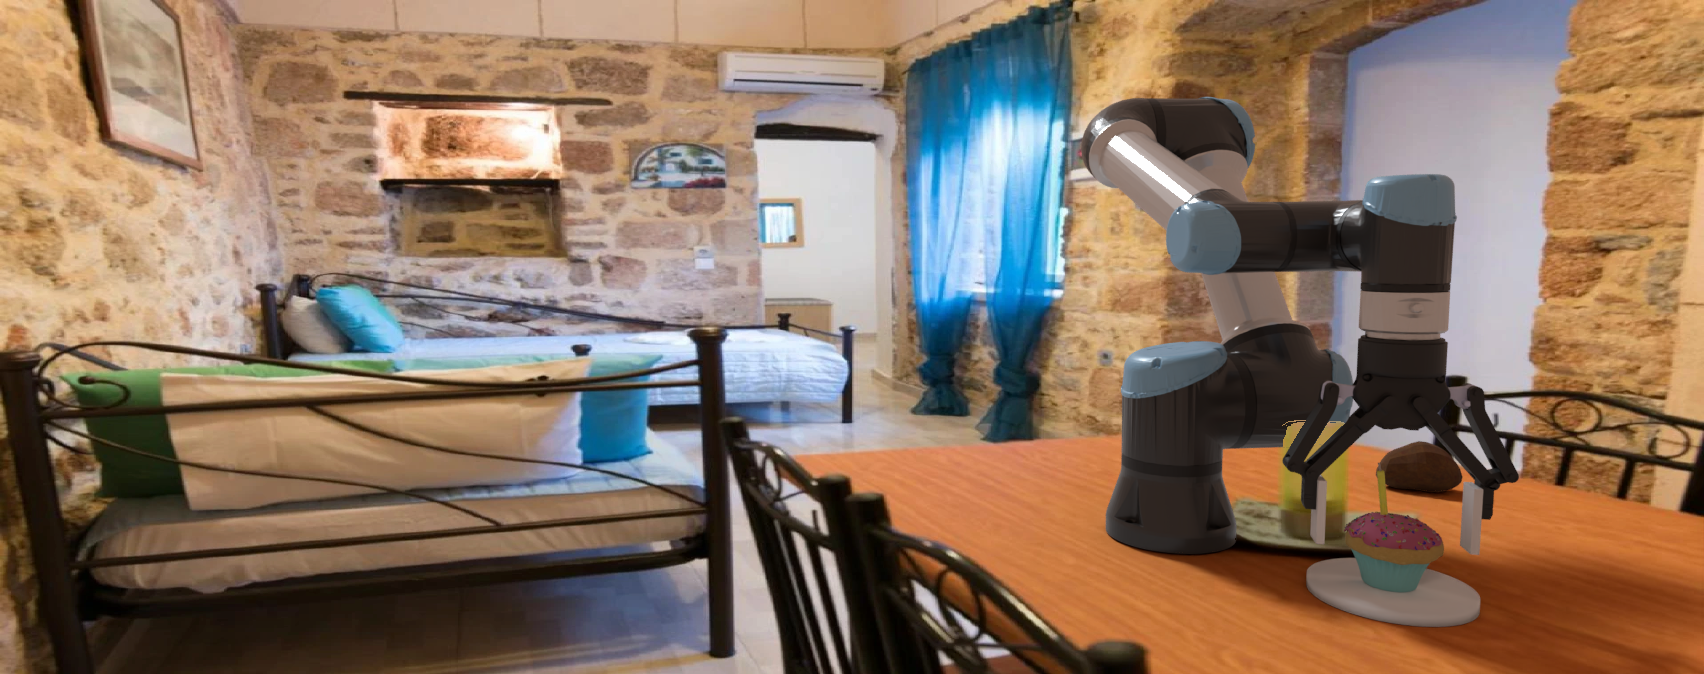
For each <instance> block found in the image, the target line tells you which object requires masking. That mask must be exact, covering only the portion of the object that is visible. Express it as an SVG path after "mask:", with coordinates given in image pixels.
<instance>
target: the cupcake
mask: <svg viewBox="0 0 1704 674" xmlns="http://www.w3.org/2000/svg"><path fill="white" fill-rule="evenodd" d="M1377 467H1379V471H1377V477H1376V478H1377V487H1378V488H1377V489H1378V501H1379V510H1380V511H1375V512H1373V511H1371V512H1368V513H1365V514H1362V515H1359V516H1357V517H1356V518H1353V519H1352V520H1351V521H1350V522H1348V523H1346V525H1345V526H1344V529H1343V532H1345V535H1344V539H1345V540H1344V541H1345V545H1346V546H1347V547H1349V548H1350V550H1351V551H1352V553H1353V556H1354V558H1356V561H1357V563H1358V566H1359V570H1360V573H1361V578H1362V580H1363V581H1364V582H1365V583H1366V584H1368V585H1370V586H1372V587H1375V588H1378V589H1381V590H1386V591H1391V592H1410V591H1413V590H1415V589H1416V588H1417V586H1418V583H1419V581H1420V579H1421V577H1422V575H1423V573H1424V571H1425V569H1426V568H1427V569H1428V566H1429V565H1430V564H1431V563H1433V562H1434V561H1437V560H1439V558H1440V557H1443V555H1444V554H1445V545H1444V541H1443V538H1442V537H1441V535H1440V534H1439V533H1437V532H1436V530H1434V529H1433V528H1432V527H1430V526H1429V525H1428V524H1427V523H1425V522H1423V521H1421V520H1420V519H1418V518H1417V517H1416V518H1415V517H1411V516H1409V515H1408V514H1407V515H1404V514H1403V515H1402V514H1400V513H1392V512H1391V513H1390V512H1389V511H1388V499H1387V487H1386V486H1387V485H1386V484H1385V473H1384V471H1382V470H1381V465H1380V462H1377Z"/></svg>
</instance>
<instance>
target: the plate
mask: <svg viewBox="0 0 1704 674" xmlns="http://www.w3.org/2000/svg"><path fill="white" fill-rule="evenodd" d="M1305 580H1306V581H1305V582H1306V588H1307V589H1308V591H1309V592H1310V593H1311V594H1312V595H1313V597H1315V598H1316V599H1318V600H1320V601H1322V602H1323V603H1325V604H1327V605H1329V606H1330V607H1331V606H1332V607H1333V608H1336V609H1339V610H1341V611H1344V612H1346V613H1349V614H1352V615H1355V616H1359V617H1362V618H1365V619H1370V620H1373V621H1379V622H1382V623H1383V622H1385V623H1389V624H1396V625H1402V626H1412V627H1422V628H1429V627H1430V628H1432V627H1433V628H1444V627H1445V628H1446V627H1453V626H1454V627H1455V626H1461V625H1464V624H1467V623H1468V624H1469V623H1471V622H1474V620H1476V619H1477V618H1478V617H1479V615H1480V614H1481V612H1480V610H1481V597H1480V594H1479V593H1478V592H1477V590H1476V589H1474V588H1473V587H1472V586H1470V585H1469V584H1468V583H1465V582H1463V581H1462V580H1459V579H1458V578H1455V577H1452V576H1451V575H1448V574H1446V573H1443V572H1439V571H1436V570H1433V569H1430V568H1428V567H1427V568H1426V569H1425V571H1424V573H1423V575H1422V577H1421V579H1420V581H1419V583H1418V586H1417V588H1416V589H1415V590H1413V591H1410V592H1391V591H1386V590H1381V589H1378V588H1375V587H1372V586H1370V585H1368V584H1366V583H1365V582H1364V581H1363V580H1362V578H1361V573H1360V570H1359V566H1358V563H1357V561H1356V558H1355V557H1339V558H1330V559H1325V560H1321V561H1318V562H1315V563H1313V564H1311V565H1310V566H1309V567H1308V568H1307V569H1306V579H1305Z"/></svg>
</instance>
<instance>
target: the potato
mask: <svg viewBox="0 0 1704 674" xmlns="http://www.w3.org/2000/svg"><path fill="white" fill-rule="evenodd" d="M1379 463H1380V465H1381V470H1382V471H1384V473H1385V485H1386V486H1388V487H1392V488H1393V489H1400V490H1415V491H1422V492H1430V493H1439V492H1447V491H1450V490H1452V489H1454V488H1457V487H1458V486H1459V485H1460V484H1461V483H1462V481H1463V479H1464V478H1463V477H1464V476H1463V474H1462V471H1461V468H1460V467H1459V464H1458V462H1456V461H1455V460H1454V457H1453V456H1452V455H1451V454H1449V453H1448V452H1447V451H1446V450H1444V449H1443V448H1442V447H1440V446H1438V445H1436V444H1434V443H1430V442H1427V441H1421V440H1418V441H1414V442H1411V443H1408V444H1406V445H1403V446H1401V447H1397V448H1394V449H1392V450H1390V451H1388V452H1387V453H1386V454H1385V455H1384V456H1383V458H1382V459H1381V460H1380V462H1379ZM1377 471H1379V467H1378V466H1377V468H1376V470H1375V476H1376V478H1377Z"/></svg>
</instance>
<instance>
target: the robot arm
mask: <svg viewBox="0 0 1704 674" xmlns="http://www.w3.org/2000/svg"><path fill="white" fill-rule="evenodd" d="M1255 137H1256V132H1255V127H1254V124H1253V122H1252V119H1251V116H1250V115H1249V113H1248V111H1246V109H1245V108H1244V106H1242V105H1241V104H1240V103H1238V102H1237V101H1234V100H1232V99H1227V98H1217V97H1212V96H1202V97H1199V98H1168V97H1167V98H1166V97H1165V98H1162V97H1161V98H1156V97H1155V98H1154V97H1152V98H1146V97H1134V98H1127V99H1122V100H1120V101H1116V102H1114V103H1112V104H1110V105H1108V106H1106V107H1105V108H1104V109H1102V110H1100V111H1099V112H1098V113H1097V114H1096V115H1095V116H1094V117H1093V118H1092V119H1091V120H1090V122H1089V123H1088V124H1087V126H1086V128H1085V130H1084V133H1083V135H1082V139H1081V144H1080V145H1081V146H1080V152H1081V158H1082V161H1083V164H1084V166H1085V168H1086V170H1087V171H1088V172H1089V174H1090V175H1091V176H1092V177H1093V178H1095V179H1096V180H1097V181H1098V182H1099V183H1101V184H1102V185H1103V186H1106V187H1107V188H1112V189H1118V190H1120V191H1121V192H1122V193H1123V194H1124V195H1125V196H1127V198H1128V199H1130V201H1132V202H1133V203H1135V204H1136V205H1137V206H1138V207H1139V208H1140V209H1141V210H1143V212H1145V213H1146V214H1147V215H1148V216H1149V217H1150V218H1151V219H1152V220H1154V221H1155V222H1156V223H1157V224H1158V225H1159V226H1161V228H1163V229H1164V230H1165V231H1166V232H1165V233H1166V234H1165V235H1166V236H1165V242H1166V243H1165V245H1166V251H1167V253H1168V255H1170V262H1171V263H1172V265H1173V266H1174V267H1175V268H1176V269H1177V270H1179V271H1181V272H1183V273H1189V274H1201V277H1202V281H1203V283H1204V287H1205V290H1206V293H1207V296H1208V299H1209V302H1210V305H1211V309H1212V313H1213V315H1214V318H1215V322H1216V325H1217V328H1218V330H1219V334H1220V337H1221V342H1215V341H1206V340H1197V341H1188V342H1187V341H1186V342H1185V341H1178V342H1170V343H1162V344H1157V345H1151V346H1147V347H1144V348H1140V349H1138V350H1136V351H1133V352H1132V353H1131V354H1129V355H1128V357H1127V358H1126V359H1125V361H1124V365H1123V376H1122V385H1121V387H1120V394H1121V451H1120V452H1121V455H1120V456H1121V457H1120V458H1121V461H1120V464H1121V465H1120V472H1119V474H1118V477H1117V480H1116V483H1115V486H1114V488H1113V490H1112V494H1111V498H1110V500H1109V502H1108V505H1107V508H1106V510H1105V532H1106V533H1107V534H1108V535H1109V536H1110V537H1112V538H1113V539H1115V540H1116V541H1118V542H1121V543H1122V544H1124V545H1128V546H1131V547H1135V548H1138V549H1143V550H1146V551H1147V550H1148V551H1153V552H1159V553H1169V554H1177V555H1178V554H1182V555H1189V554H1190V555H1194V554H1195V555H1196V554H1197V555H1199V554H1200V555H1201V554H1209V553H1217V552H1221V551H1224V550H1227V549H1229V548H1232V546H1234V545H1235V543H1236V542H1237V520H1236V517H1235V514H1234V510H1233V508H1232V507H1233V506H1232V504H1231V501H1230V497H1229V494H1228V491H1227V488H1226V484H1225V481H1224V477H1223V457H1224V450H1233V449H1236V450H1237V449H1263V448H1265V449H1269V448H1284V447H1283V439H1284V437H1285V435H1286V430H1287V427H1288V426H1291V424H1293V423H1297V422H1305V423H1304V425H1303V426H1302V428H1301V429H1300V431H1299V433H1298V434H1297V436H1296V438H1295V439H1294V441H1293V443H1292V444H1291V446H1290V447H1288V449H1287V450H1286V452H1285V455H1284V456H1283V458H1282V464H1283V466H1284V467H1285V468H1286V469H1287V471H1289V472H1291V473H1294V474H1298V475H1300V476H1301V485H1300V486H1301V489H1300V502H1301V504H1302V507H1304V508H1305V510H1310V512H1311V513H1310V531H1309V532H1310V533H1309V534H1310V537H1311V539H1312V540H1313V542H1314V543H1315V544H1316V545H1325V541H1326V540H1325V538H1326V515H1327V492H1328V491H1327V489H1328V481H1327V480H1326V479H1325V477H1324V476H1323V475H1322V474H1323V473H1324V472H1325V471H1327V469H1329V468H1330V466H1332V465H1333V464H1334V462H1336V461H1337V460H1338V459H1339V458H1340V457H1341V456H1342V455H1343V454H1344V453H1345V452H1346V451H1347V450H1348V449H1349V448H1350V447H1352V445H1353V444H1354V443H1355V442H1356V441H1358V440H1359V439H1360V438H1361V437H1362V436H1363V435H1364V434H1366V433H1368V432H1369V431H1371V430H1372V429H1373V428H1374V427H1375V426H1376V427H1378V428H1381V429H1382V430H1391V431H1392V430H1396V429H1405V430H1408V431H1419V430H1420V429H1423V428H1425V427H1426V428H1427V429H1428V431H1430V432H1431V433H1432V434H1433V436H1434V437H1435V438H1436V439H1437V440H1438V441H1439V442H1440V443H1441V445H1442V446H1443V447H1445V448H1446V450H1447V451H1448V452H1449V453H1450V455H1451V457H1452V458H1453V459H1455V460H1456V461H1457V463H1458V464H1459V465H1460V466H1461V467H1462V468H1463V469H1464V471H1465V472H1466V473H1468V474H1469V476H1470V477H1471V478H1472V479H1473V480H1474V482H1473V481H1463V486H1462V487H1463V488H1462V505H1461V520H1460V522H1461V523H1460V538H1459V546H1460V547H1461V548H1462V549H1464V550H1465V551H1466V552H1467V553H1468V554H1469V555H1473V556H1475V555H1476V556H1480V555H1481V554H1480V551H1481V550H1480V549H1481V533H1482V520H1486V521H1487V520H1491V518H1492V517H1493V515H1494V498H1495V491H1498V489H1500V487H1501V485H1503V484H1507V483H1509V484H1514V483H1516V482H1518V481H1519V478H1520V475H1519V473H1518V471H1517V468H1516V466H1515V465H1514V463H1513V462H1512V459H1511V457H1510V455H1509V453H1508V451H1507V449H1506V447H1505V445H1504V443H1503V441H1502V440H1501V438H1500V435H1499V433H1498V431H1497V429H1496V428H1495V426H1494V424H1493V423H1492V420H1491V418H1490V416H1489V414H1488V412H1487V410H1486V402H1485V401H1486V400H1485V399H1486V398H1485V391H1484V389H1483V388H1482V387H1480V386H1477V385H1474V384H1471V383H1469V382H1466V383H1463V384H1462V385H1460V386H1450V387H1449V386H1448V385H1447V381H1446V377H1447V362H1448V347H1449V346H1448V345H1449V342H1448V341H1446V339H1445V338H1444V337H1441V335H1442V334H1445V333H1446V332H1448V331H1449V321H1450V300H1451V283H1452V271H1453V256H1454V255H1453V254H1454V244H1455V243H1454V242H1455V241H1454V240H1455V227H1456V226H1455V225H1456V224H1455V223H1456V222H1457V218H1458V216H1457V215H1456V193H1455V192H1456V191H1455V189H1456V188H1455V183H1454V181H1453V179H1452V178H1451V177H1449V176H1448V175H1445V174H1441V173H1439V174H1438V173H1435V174H1434V173H1419V174H1417V173H1415V174H1396V175H1385V176H1384V175H1383V176H1381V175H1380V176H1376V177H1373V178H1371V179H1369V180H1368V181H1367V183H1366V185H1365V189H1364V193H1363V197H1362V199H1356V200H1355V199H1353V200H1351V199H1350V200H1330V201H1329V200H1326V201H1325V200H1323V201H1321V200H1319V201H1318V200H1317V201H1315V200H1314V201H1313V200H1312V201H1249V200H1248V199H1249V198H1248V197H1247V194H1246V190H1245V189H1244V186H1243V183H1242V182H1244V180H1245V178H1246V176H1247V174H1248V169H1249V168H1250V166H1251V164H1252V162H1253V159H1254V157H1255V155H1254V154H1255V150H1256V144H1255V143H1254V142H1253V141H1254V138H1255ZM1291 272H1292V273H1295V272H1296V273H1300V272H1301V273H1303V272H1304V273H1305V272H1306V273H1307V272H1329V273H1330V272H1360V273H1361V274H1360V276H1361V277H1360V295H1359V296H1360V299H1359V311H1358V312H1359V315H1358V328H1359V329H1360V330H1361V331H1362V332H1363V331H1364V334H1362V335H1360V338H1358V339H1357V357H1356V359H1357V360H1356V376H1355V380H1354V381H1353V375H1352V371H1351V368H1350V366H1349V364H1348V362H1347V360H1346V359H1345V358H1344V357H1343V356H1342V355H1341V354H1340V353H1337V352H1336V351H1333V350H1331V349H1328V348H1324V349H1319V348H1318V346H1317V343H1316V341H1315V338H1314V336H1313V333H1312V331H1311V329H1310V327H1309V326H1307V325H1306V324H1304V323H1302V322H1299V321H1295V320H1293V318H1292V315H1291V313H1290V311H1289V310H1290V309H1289V308H1288V304H1287V301H1286V299H1285V296H1284V294H1283V292H1282V288H1281V286H1280V283H1279V280H1278V278H1277V275H1276V273H1291ZM1450 400H1453V402H1454V405H1455V406H1457V407H1458V408H1460V409H1462V411H1463V414H1464V416H1465V418H1466V420H1467V422H1468V424H1469V426H1470V428H1471V430H1472V432H1473V434H1474V436H1475V438H1476V440H1477V442H1478V443H1479V446H1480V448H1481V449H1482V451H1483V453H1484V455H1485V457H1486V459H1487V460H1488V464H1489V465H1490V467H1491V468H1487V467H1486V466H1485V465H1484V464H1483V463H1482V462H1481V461H1480V460H1479V458H1477V456H1475V454H1474V453H1473V452H1472V451H1471V449H1469V447H1468V446H1467V445H1466V444H1465V443H1464V442H1463V441H1462V440H1461V438H1460V437H1458V435H1457V434H1456V433H1455V432H1454V431H1453V430H1452V428H1451V426H1450V425H1449V424H1448V422H1446V421H1445V419H1443V417H1442V416H1441V414H1439V413H1440V412H1441V410H1442V409H1443V408H1444V407H1445V406H1446V405H1447V403H1449V401H1450ZM1353 402H1355V404H1356V405H1357V406H1358V407H1357V409H1356V410H1354V411H1353V413H1351V409H1352V407H1353V404H1354V403H1353ZM1294 420H1306V421H1296V422H1288V421H1294ZM1329 421H1341V422H1344V423H1345V424H1344V425H1343V426H1341V427H1340V428H1339V429H1338V430H1337V431H1336V432H1335V433H1334V434H1333V435H1332V436H1331V437H1330V438H1329V439H1328V440H1327V441H1326V442H1325V443H1324V444H1321V446H1320V447H1319V448H1318V449H1316V451H1314V452H1313V453H1312V454H1311V455H1310V456H1309V454H1310V452H1311V451H1312V449H1313V447H1314V446H1315V445H1314V444H1315V443H1316V441H1317V439H1318V438H1319V436H1320V435H1321V433H1322V431H1323V430H1324V428H1325V426H1326V425H1327V423H1328V422H1329ZM1286 422H1288V423H1286ZM1285 423H1286V424H1285ZM1330 423H1336V422H1330ZM1283 424H1285V425H1283ZM1282 425H1283V426H1282ZM1286 425H1287V426H1286ZM1308 456H1309V458H1307V457H1308ZM1235 538H1236V540H1235Z"/></svg>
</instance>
